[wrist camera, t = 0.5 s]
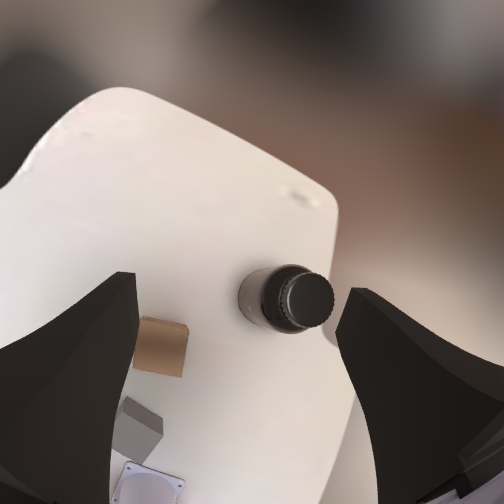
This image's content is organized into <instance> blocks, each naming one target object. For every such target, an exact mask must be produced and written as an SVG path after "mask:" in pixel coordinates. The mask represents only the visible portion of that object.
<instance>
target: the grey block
mask: <svg viewBox="0 0 504 504" xmlns="http://www.w3.org/2000/svg"><path fill="white" fill-rule="evenodd" d="M162 437H163V419H162V418H161V417H159V416H157V415H156V414H154V413H152V412H151V411H149V410H148V409H146V408H144V407H143V406H141V405H140V404H138V403H137V402H135V401H134V400H132V399H131V398H129V397H128V396H127V397H126V399H125V400H124V402H123V403H122V405H121V406H120V408H119V409H118V411H117V412H116V416H115V423H114V431H113V438H112V449H114V450H115V451H117V452H119V453H121V454H122V455H124V456H126V457H127V458H129V459H131V460H133V461H135V462H136V463H138V464H140V465H142V463H143V462H144V461H145V460H146V458H147V457H148V456H149V454H150V453H151V452H152V450H153V449H154V448H155V446H156V445H157V444H158V443H159V441H160V440H161V439H162Z"/></svg>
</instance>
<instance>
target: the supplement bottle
mask: <svg viewBox="0 0 504 504" xmlns="http://www.w3.org/2000/svg"><path fill="white" fill-rule="evenodd" d="M239 305H240V308H241V310H242V312H243V314H244V315H245V317H246V318H247V319H249V320H250V321H251V322H253V323H255V324H257V325H260V326H263V327H266V328H269V329H272V330H275V331H278V332H281V333H285V334H297V333H301V332H303V331H306V330H307V329H309V328H312V327H317V326H318V325H321V324H322V323H324V322H325V321H326V320H327V319H328V317H329V316H330V315H331V312H332V310H333V306H334V293H333V289H332V287H331V284H329V282H328V280H326V279H325V277H322V276H321V275H320V274H317V273H313V272H312V271H311V270H309V269H308V268H306V267H304V266H301V265H296V264H288V265H282V266H277V267H272V268H267V269H263V270H259V271H256V272H254V273H252V274H251V275H249V276H248V277H247V278H246V279H245V280H244V282H243V284H242V286H241V288H240V291H239Z"/></svg>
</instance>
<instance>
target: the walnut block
mask: <svg viewBox="0 0 504 504" xmlns="http://www.w3.org/2000/svg"><path fill="white" fill-rule="evenodd" d="M188 335H189V329H188V328H187V326H186V325H183V324H178V323H173V322H168V321H163V320H158V319H153V318H149V317H144V316H143V317H142V318H141V319H140V325H139V330H138V335H137V341H136V348H135V355H134V362H133V368H134V369H139V370H143V371H148V372H153V373H158V374H164V375H169V376H175V377H181V378H182V372H183V365H184V359H185V353H186V347H187V341H188Z"/></svg>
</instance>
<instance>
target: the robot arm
mask: <svg viewBox="0 0 504 504" xmlns="http://www.w3.org/2000/svg"><path fill="white" fill-rule="evenodd" d="M139 325H140V321H139V311H138V301H137V289H136V276H135V273H128V272H116V273H115V274H113V275H112V276H110V277H109V278H108V279H107V280H105V281H104V282H103V283H101V284H100V285H99V286H98V287H96V288H95V289H94V290H92V291H91V292H90V293H89V294H87V295H86V296H85V297H83V298H82V299H81V300H80V301H78V302H77V303H76V304H74V305H73V306H71V307H70V308H69V309H67V310H66V311H64V312H63V313H62V314H60V315H59V316H57V317H56V318H55V319H53V320H52V321H50V322H49V323H47V324H45V325H44V326H42V327H41V328H39V329H37V330H36V331H34V332H32V333H30V334H29V335H27V336H25V337H23V338H21V339H19V340H17V341H15V342H13V343H11V344H9V345H7V346H5V347H3V348H1V349H0V504H109V480H110V460H111V448H112V438H113V431H114V423H115V416H116V411H117V407H118V403H119V399H120V396H121V392H122V389H123V386H124V382H125V379H126V376H127V373H128V369H129V366H130V363H131V360H132V357H133V353H134V350H135V346H136V341H137V335H138V330H139ZM335 333H336V338H337V342H338V346H339V350H340V353H341V357H342V359H343V362H344V364H345V367H346V369H347V372H348V374H349V377H350V379H351V382H352V384H353V386H354V389H355V391H356V394H357V396H358V398H359V401H360V404H361V406H362V409H363V412H364V415H365V419H366V422H367V427H368V431H369V435H370V439H371V444H372V450H373V455H374V461H375V469H376V477H377V488H378V504H504V367H503V366H500V365H497V364H494V363H492V362H489V361H486V360H484V359H482V358H479V357H477V356H475V355H473V354H470V353H468V352H466V351H464V350H462V349H460V348H459V347H457V346H455V345H453V344H451V343H449V342H447V341H446V340H444V339H442V338H441V337H439V336H437V335H436V334H435V333H433V332H431V331H430V330H428V329H427V328H425V327H424V326H422V325H421V324H419V323H418V322H416V321H415V320H414V319H412V318H411V317H409V316H408V315H406V314H405V313H404V312H402V311H401V310H399V309H398V308H396V307H395V306H394V305H392V304H391V303H390V302H388V301H387V300H385V299H384V298H382V297H381V296H379V295H378V294H376V293H375V292H373V291H371V290H369V289H367V288H351V291H350V294H349V297H348V299H347V302H346V305H345V308H344V310H343V313H342V316H341V319H340V321H339V324H338V326H337V329H336V332H335ZM128 467H130V468H128ZM179 485H181V486H179ZM184 485H185V481H184V480H182V479H178V478H175V477H172V476H169V475H166V474H163V473H160V472H157V471H154V470H151V469H148V468H146V467H143V466H140V465H138V464H135V463H133V462H127V463H126V466H125V468H124V470H123V473H122V475H121V478H120V480H119V482H118V485H117V487H116V490H115V492H114V495H113V497H112V499H111V502H110V504H176V500H177V498H178V496H179V494H180V492H181V490H182V489H183V487H184ZM115 499H117V500H115Z"/></svg>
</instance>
